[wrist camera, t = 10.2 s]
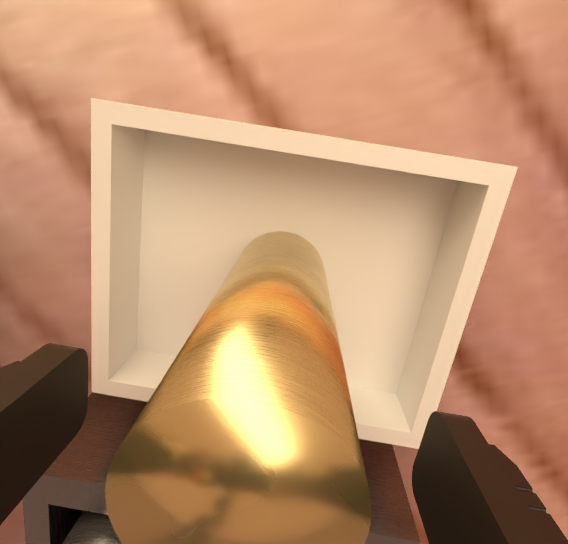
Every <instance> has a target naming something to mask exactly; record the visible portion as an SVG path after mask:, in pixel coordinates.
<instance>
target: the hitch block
mask: <svg viewBox="0 0 568 544" xmlns="http://www.w3.org/2000/svg"><path fill="white" fill-rule="evenodd" d="M146 404H147V402H146V401H140V400H134V399H128V398H123V397H117V396H111V395H105V394H100V393H94V392H93V393H92V394H91V395H90V396H89V397H88V408H87V413H86V417H85V420H84V422H83V425H82V427H81V429H80V430H79V432H78V433H77V435H76V436H75V437H74V438H73V439H72V441H71V442H70V443H69V444H68V445H67V447H66V448H65V449H64V450H63V451H62V453H61V454H60V455H59V456H58V457H57V458H56V460H55V461H54V462H53V463H52V464H51V466H50V467H49V468H48V469H47V470H46V471H45V473H44V474H43V475H42V476H41V477H40V479H39V480H38V481H37V482H36V483H35V485H34V486H33V487H32V488H31V489H30V490H29V492H28V493H27V494H26V495H25V496H24V498H23V509H24V522H25V536H26V544H62V543H63V542H64V540H65V539H66V537H67V536H68V534H69V532H70V531H71V529H72V528H73V526H74V525H75V523H76V521H77V520H78V518H79V517H80V515H81V514H82V512H83V511H89V512H95V513H100V514H106V515H108V511H107V506H106V497H105V487H106V478H107V474H108V471H109V467H110V464H111V462H112V460H113V458H114V456H115V454H116V452H117V450H118V449H119V447H120V445H121V444H122V442H123V441H124V439H125V437H126V436H127V434H128V433H129V431H130V429H131V428H132V426H133V425H134V423H135V422H136V420H137V418H138V417H139V415H140V414H141V412H142V410H143V409H144V407H145V406H146ZM359 443H360V448H361V453H362V458H363V463H364V467H365V472H366V477H367V482H368V487H369V492H370V499H371V507H372V511H371V524H370V528H369V533H368V536H367V539H366V541H365V543H364V544H419V543H420V540H419V536H418V533H417V530H416V526H415V523H414V519H413V516H412V512H411V509H410V505H409V502H408V498H407V495H406V492H405V488H404V485H403V481H402V478H401V474H400V471H399V467H398V464H397V460H396V457H395V454H394V450H393V447H392V444H387V443H381V442H376V441H370V440H364V439H359Z"/></svg>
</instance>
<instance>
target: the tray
mask: <svg viewBox="0 0 568 544" xmlns="http://www.w3.org/2000/svg"><path fill="white" fill-rule="evenodd" d="M517 168H518V167H515V166H508V165H502V164H496V163H490V162H484V161H477V160H471V159H465V158H459V157H453V156H447V155H440V154H434V153H428V152H422V151H416V150H410V149H403V148H397V147H391V146H385V145H379V144H372V143H366V142H360V141H354V140H348V139H342V138H335V137H329V136H323V135H317V134H311V133H305V132H298V131H292V130H286V129H280V128H274V127H267V126H261V125H255V124H249V123H243V122H237V121H230V120H224V119H218V118H212V117H206V116H200V115H193V114H187V113H181V112H175V111H169V110H162V109H156V108H150V107H144V106H138V105H132V104H125V103H119V102H113V101H107V100H101V99H94V98H91V314H92V392H94V393H100V394H105V395H111V396H117V397H123V398H128V399H134V400H140V401H146V402H148V401H149V399H150V398H151V396H152V395H153V393H154V391H155V390H156V388H157V387H158V385H159V383H160V382H161V380H162V379H163V377H164V375H165V374H166V372H167V371H168V369H169V368H170V366H171V364H172V363H173V361H174V360H175V358H176V356H177V355H178V353H179V352H180V350H181V348H182V347H183V345H184V344H185V342H186V341H187V339H188V337H189V336H190V334H191V333H192V331H193V329H194V328H195V326H196V325H197V323H198V321H199V320H200V318H201V317H202V315H203V314H204V312H205V310H206V309H207V307H208V306H209V304H210V302H211V301H212V299H213V298H214V296H215V295H216V293H217V291H218V290H219V288H220V287H221V285H222V283H223V282H224V280H225V279H226V277H227V275H228V274H229V272H230V271H231V269H232V268H233V266H234V264H235V263H236V261H237V260H238V258H239V256H240V255H241V253H242V252H243V250H244V249H245V247H246V246H247V245H248V244H249V243H250V242H251V241H253V240H254V239H255V238H257V237H259V236H261V235H263V234H266V233H269V232H275V231H283V232H290V233H294V234H297V235H299V236H301V237H303V238H305V239H306V240H307V241H309V242H310V243H311V244H312V245H313V246H314V247H315V248H316V250H317V251H318V253H319V254H320V256H321V259H322V261H323V265H324V269H325V274H326V279H327V284H328V289H329V294H330V299H331V304H332V309H333V314H334V319H335V324H336V329H337V334H338V339H339V344H340V349H341V354H342V359H343V363H344V368H345V373H346V378H347V383H348V388H349V393H350V398H351V403H352V408H353V413H354V418H355V423H356V428H357V433H358V438H359V439H364V440H370V441H376V442H381V443H387V444H393V445H399V446H404V447H410V448H416V449H419V447H420V443H421V440H422V437H423V434H424V431H425V428H426V425H427V422H428V419H429V417H430V415H431V414H432V413H433V412H434V411H437V408H438V405H439V402H440V399H441V396H442V393H443V390H444V387H445V384H446V381H447V378H448V375H449V372H450V369H451V366H452V363H453V360H454V357H455V354H456V351H457V348H458V345H459V342H460V339H461V336H462V333H463V330H464V327H465V324H466V321H467V318H468V315H469V312H470V309H471V306H472V303H473V300H474V297H475V294H476V291H477V288H478V285H479V282H480V279H481V276H482V273H483V270H484V267H485V264H486V261H487V258H488V255H489V252H490V249H491V246H492V243H493V240H494V237H495V234H496V231H497V228H498V225H499V222H500V219H501V216H502V213H503V210H504V207H505V204H506V201H507V198H508V195H509V192H510V189H511V186H512V183H513V180H514V177H515V174H516V171H517Z"/></svg>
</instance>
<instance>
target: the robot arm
mask: <svg viewBox="0 0 568 544" xmlns="http://www.w3.org/2000/svg"><path fill="white" fill-rule="evenodd" d="M87 408H88V356H87V353H86V351H85V350H84V349H80V348H75V347H69V346H63V345H57V344H51V343H50V344H46V345H44V346H43V347H41V348H40V349H38V350H37V351H36V352H34V353H33V354H31V355H30V356H28V357H27V358H26V359H24V360H23V361H21V362H20V361H17V362H14V363H11V364H9V365H6V366H4V367H1V368H0V525H1V524H2V522H3V521H4V520H5V519H6V518H7V517H8V515H9V514H10V513H11V512H12V511H13V509H14V508H15V507H16V506H17V505H18V503H19V502H20V501H21V500H22V499H23V498H24V496H25V495H26V494H27V493H28V492H29V490H30V489H31V488H32V487H33V486H34V485H35V483H36V482H37V481H38V480H39V479H40V477H41V476H42V475H43V474H44V473H45V471H46V470H47V469H48V468H49V467H50V466H51V464H52V463H53V462H54V461H55V460H56V458H57V457H58V456H59V455H60V454H61V453H62V451H63V450H64V449H65V448H66V447H67V445H68V444H69V443H70V442H71V441H72V439H73V438H74V437H75V436H76V435H77V433H78V432H79V430H80V429H81V427H82V425H83V422H84V420H85V417H86V413H87ZM412 486H413V493H414V497H415V500H416V503H417V506H418V510H419V513H420V516H421V519H422V522H423V525H424V528H425V532H426V535H427V538H428V541H429V544H568V540H567V539H566V537H565V536H564V534H563V533H562V531H561V530H560V528H559V527H558V525H557V524H556V522H555V521H554V520H553V518H552V517H551V515H550V514H547V513H546V508H545V506H544V505H543V503H542V502H541V501H540V499H539V498H538V496H537V495H536V494H535V493H533V492H532V487H531V486H530V484H529V483H528V481H527V480H526V479H525V477H524V476H523V474H522V473H521V471H520V470H519V468H518V467H517V466H516V465H515V464H514V463H513V462H512V461H511V460H510V459H509V458H508V457H507V456H506V455H504V454H503V453H502V452H501V451H500V450H499V449H498V448H497V447H496V446H495V445H490V444H488V443H487V441H486V440H485V438H484V436H483V435H482V433H481V432H480V430H479V429H478V427H477V425H476V424H475V422H474V421H473V420H472V419H471V418H470V417H467V416H461V415H455V414H449V413H444V412H438V411H434V412H433V413H432V414H431V415H430V417H429V419H428V422H427V425H426V428H425V431H424V434H423V437H422V440H421V443H420V447H419V450H418V453H417V456H416V459H415V462H414V465H413V472H412Z"/></svg>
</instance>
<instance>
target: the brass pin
mask: <svg viewBox="0 0 568 544" xmlns="http://www.w3.org/2000/svg"><path fill="white" fill-rule="evenodd" d="M105 497H106V506H107V511H108V515H109V519H110V521H111V524H112V526H113V529H114V531H115V533H116V534H117V536H118V538H119V540H120V541H121V543H122V544H364V543H365V541H366V539H367V536H368V533H369V528H370V524H371V511H372V507H371V499H370V492H369V487H368V482H367V477H366V472H365V467H364V463H363V458H362V453H361V448H360V443H359V438H358V433H357V428H356V423H355V418H354V413H353V408H352V403H351V398H350V393H349V388H348V383H347V378H346V373H345V368H344V363H343V359H342V354H341V349H340V344H339V339H338V334H337V329H336V324H335V319H334V314H333V309H332V304H331V299H330V294H329V289H328V284H327V279H326V274H325V269H324V265H323V261H322V259H321V256H320V254H319V253H318V251H317V250H316V248H315V247H314V246H313V245H312V244H311V243H310V242H309V241H307V240H306V239H305V238H303V237H301V236H299V235H297V234H294V233H290V232H283V231H275V232H269V233H266V234H263V235H261V236H259V237H257V238H255V239H254V240H253V241H251V242H250V243H249V244H248V245H247V246H246V247H245V249H244V250H243V252H242V253H241V255H240V256H239V258H238V260H237V261H236V263H235V264H234V266H233V268H232V269H231V271H230V272H229V274H228V275H227V277H226V279H225V280H224V282H223V283H222V285H221V287H220V288H219V290H218V291H217V293H216V295H215V296H214V298H213V299H212V301H211V302H210V304H209V306H208V307H207V309H206V310H205V312H204V314H203V315H202V317H201V318H200V320H199V321H198V323H197V325H196V326H195V328H194V329H193V331H192V333H191V334H190V336H189V337H188V339H187V341H186V342H185V344H184V345H183V347H182V348H181V350H180V352H179V353H178V355H177V356H176V358H175V360H174V361H173V363H172V364H171V366H170V368H169V369H168V371H167V372H166V374H165V375H164V377H163V379H162V380H161V382H160V383H159V385H158V387H157V388H156V390H155V391H154V393H153V395H152V396H151V398H150V399H149V401H148V402H147V404H146V406H145V407H144V409H143V410H142V412H141V414H140V415H139V417H138V418H137V420H136V422H135V423H134V425H133V426H132V428H131V429H130V431H129V433H128V434H127V436H126V437H125V439H124V441H123V442H122V444H121V445H120V447H119V449H118V450H117V452H116V454H115V456H114V458H113V460H112V462H111V464H110V467H109V471H108V474H107V478H106V487H105Z"/></svg>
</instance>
